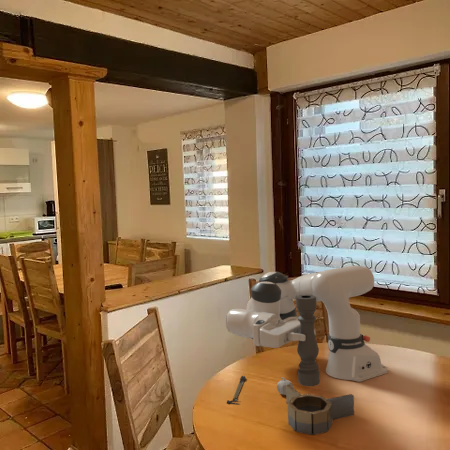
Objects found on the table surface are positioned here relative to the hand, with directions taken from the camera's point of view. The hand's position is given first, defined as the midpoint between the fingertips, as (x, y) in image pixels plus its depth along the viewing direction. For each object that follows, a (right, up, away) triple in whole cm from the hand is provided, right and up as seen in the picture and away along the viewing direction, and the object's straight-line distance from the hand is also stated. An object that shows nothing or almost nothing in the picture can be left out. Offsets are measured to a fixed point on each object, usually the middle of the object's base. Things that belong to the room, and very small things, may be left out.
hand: (310, 335), depth 134 cm
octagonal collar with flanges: (+3, -26, +8) cm, 27 cm away
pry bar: (-19, -26, +27) cm, 42 cm away
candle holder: (0, -14, +1) cm, 14 cm away
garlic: (-4, -25, +23) cm, 35 cm away
